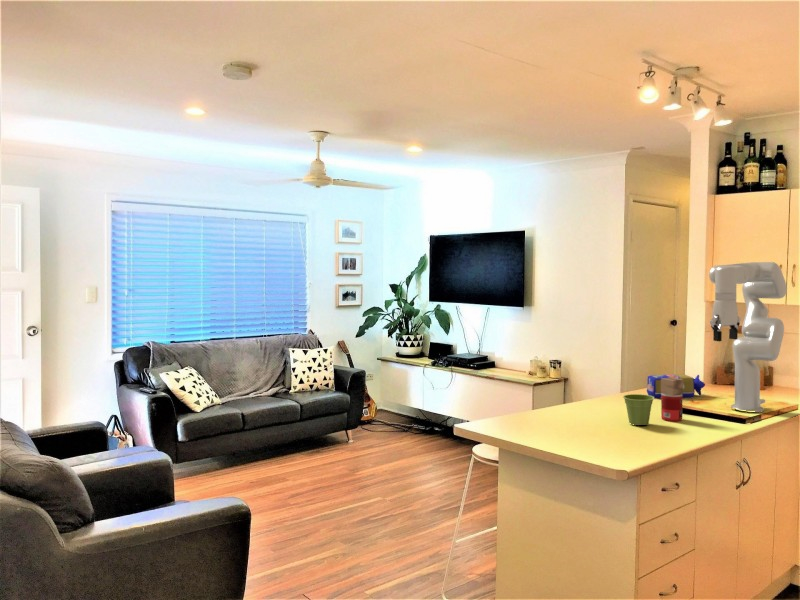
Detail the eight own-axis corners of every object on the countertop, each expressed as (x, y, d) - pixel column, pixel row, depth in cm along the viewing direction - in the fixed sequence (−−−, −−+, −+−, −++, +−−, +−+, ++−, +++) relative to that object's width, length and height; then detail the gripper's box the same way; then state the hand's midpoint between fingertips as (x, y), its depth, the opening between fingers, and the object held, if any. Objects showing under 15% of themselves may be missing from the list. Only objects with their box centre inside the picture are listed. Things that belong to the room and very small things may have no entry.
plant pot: (655, 422, 257) (655, 394, 256) (653, 429, 246) (653, 400, 246) (624, 419, 262) (624, 392, 261) (621, 426, 251) (621, 398, 250)
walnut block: (670, 391, 263) (670, 377, 263) (683, 393, 258) (683, 379, 258) (660, 392, 261) (660, 378, 260) (673, 395, 255) (673, 380, 255)
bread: (644, 394, 308) (644, 374, 308) (695, 393, 308) (695, 372, 308) (653, 399, 298) (652, 377, 297) (705, 398, 298) (705, 376, 297)
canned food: (684, 422, 256) (684, 395, 255) (663, 421, 257) (663, 395, 256) (679, 417, 263) (680, 391, 262) (659, 417, 265) (659, 391, 264)
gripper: (730, 296, 258) (730, 337, 259) (702, 298, 250) (702, 340, 251) (748, 296, 252) (748, 339, 253) (720, 298, 244) (719, 342, 245)
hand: (725, 340), depth 252 cm, fingers open, 9 cm apart
